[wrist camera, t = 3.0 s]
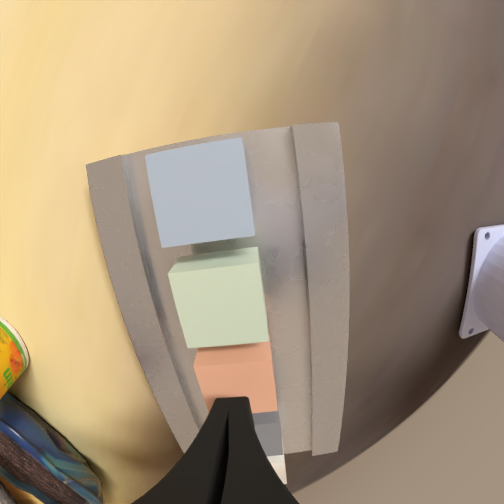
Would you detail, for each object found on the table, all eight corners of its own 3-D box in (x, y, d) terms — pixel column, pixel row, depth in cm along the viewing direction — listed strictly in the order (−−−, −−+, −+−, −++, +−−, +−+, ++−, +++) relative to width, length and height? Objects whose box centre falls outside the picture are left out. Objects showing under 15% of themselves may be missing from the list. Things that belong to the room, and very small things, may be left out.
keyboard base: (332, 125, 13) (342, 121, 11) (336, 436, 20) (340, 450, 18) (98, 164, 13) (82, 165, 12) (189, 448, 20) (187, 462, 19)
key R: (276, 396, 15) (279, 422, 13) (281, 430, 16) (283, 454, 14) (217, 401, 15) (213, 427, 13) (228, 434, 16) (226, 458, 14)
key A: (282, 439, 16) (284, 462, 15) (284, 462, 17) (286, 483, 16) (230, 442, 17) (229, 466, 15) (239, 466, 18) (238, 486, 16)
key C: (269, 334, 14) (271, 359, 12) (275, 384, 15) (277, 410, 13) (199, 340, 14) (193, 366, 12) (213, 389, 15) (209, 415, 13)
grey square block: (243, 140, 11) (241, 137, 9) (254, 223, 12) (255, 235, 10) (161, 155, 11) (144, 154, 9) (175, 234, 12) (161, 248, 10)
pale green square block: (257, 246, 12) (258, 262, 11) (266, 316, 14) (269, 341, 12) (179, 256, 13) (167, 273, 11) (195, 323, 14) (187, 348, 12)
